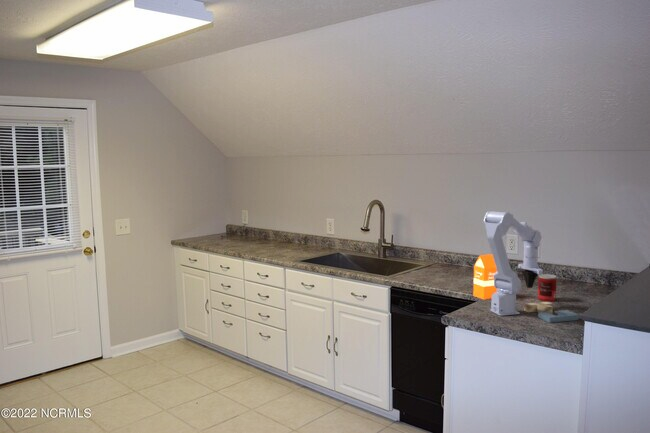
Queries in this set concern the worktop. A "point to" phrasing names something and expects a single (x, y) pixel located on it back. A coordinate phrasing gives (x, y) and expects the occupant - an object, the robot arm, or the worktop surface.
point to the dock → (561, 316)
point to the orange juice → (484, 277)
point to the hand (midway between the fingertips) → (529, 287)
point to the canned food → (547, 287)
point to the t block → (539, 307)
